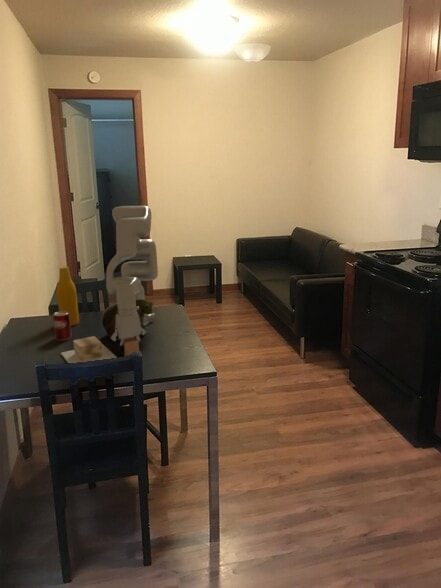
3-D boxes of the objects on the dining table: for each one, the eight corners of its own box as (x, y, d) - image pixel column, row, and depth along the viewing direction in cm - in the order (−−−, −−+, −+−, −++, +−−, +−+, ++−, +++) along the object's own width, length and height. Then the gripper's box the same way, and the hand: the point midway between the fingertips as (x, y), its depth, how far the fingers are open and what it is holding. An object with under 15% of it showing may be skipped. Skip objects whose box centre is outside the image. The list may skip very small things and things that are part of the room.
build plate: (102, 345, 211) (102, 343, 211) (116, 358, 196) (116, 357, 196) (61, 354, 202) (61, 352, 202) (73, 369, 187) (72, 367, 187)
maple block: (95, 349, 205) (94, 336, 203) (102, 356, 198) (101, 342, 196) (74, 353, 200) (73, 340, 199) (80, 360, 193) (79, 347, 191)
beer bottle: (56, 324, 239) (49, 268, 231) (70, 319, 246) (64, 264, 238) (69, 327, 234) (62, 270, 226) (83, 322, 242) (77, 266, 234)
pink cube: (133, 349, 206) (133, 336, 205) (139, 353, 202) (138, 340, 200) (120, 352, 203) (119, 339, 202) (126, 356, 198) (125, 343, 197)
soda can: (67, 341, 216) (64, 316, 213) (52, 340, 218) (49, 315, 215) (74, 335, 223) (72, 311, 220) (60, 334, 225) (57, 310, 221)
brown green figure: (118, 339, 231) (165, 328, 225) (105, 350, 216) (154, 338, 210) (105, 303, 228) (153, 290, 222) (91, 311, 213) (141, 298, 207)
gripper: (142, 305, 205) (145, 344, 210) (103, 312, 196) (107, 353, 201) (150, 309, 199) (152, 349, 204) (110, 317, 190) (113, 359, 195)
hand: (129, 351), depth 202 cm, fingers closed on pink cube, 6 cm apart
